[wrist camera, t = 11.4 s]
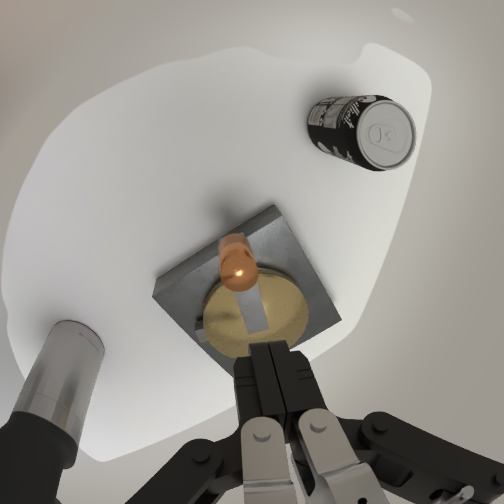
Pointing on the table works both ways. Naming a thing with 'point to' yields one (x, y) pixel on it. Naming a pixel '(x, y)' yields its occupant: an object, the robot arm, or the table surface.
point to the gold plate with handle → (250, 303)
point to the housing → (266, 256)
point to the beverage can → (364, 131)
